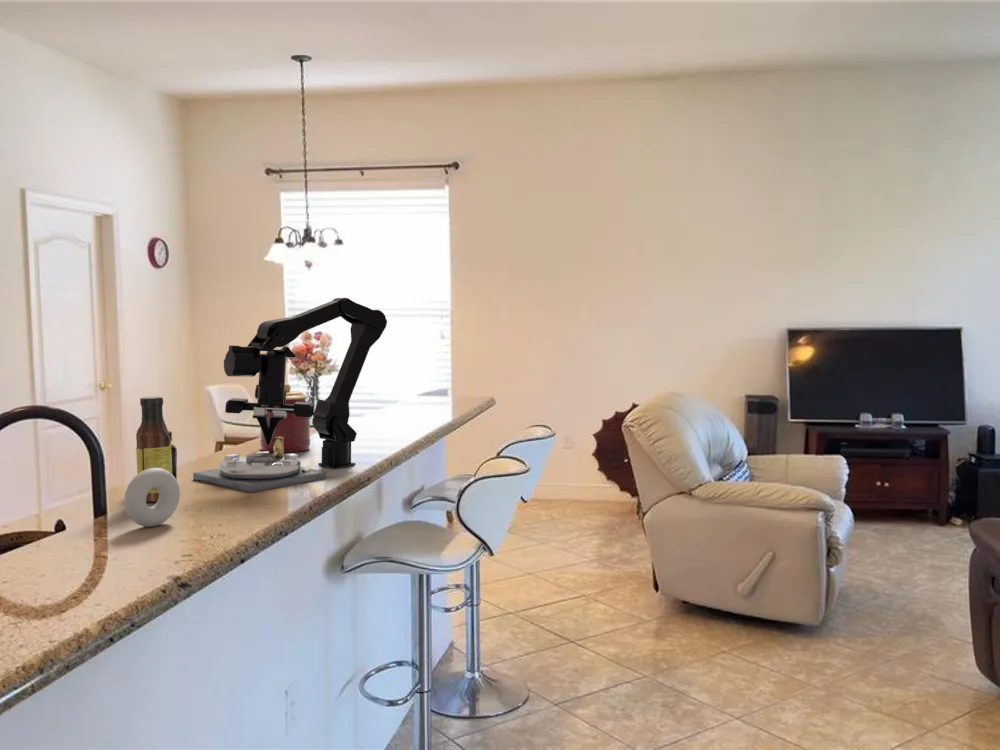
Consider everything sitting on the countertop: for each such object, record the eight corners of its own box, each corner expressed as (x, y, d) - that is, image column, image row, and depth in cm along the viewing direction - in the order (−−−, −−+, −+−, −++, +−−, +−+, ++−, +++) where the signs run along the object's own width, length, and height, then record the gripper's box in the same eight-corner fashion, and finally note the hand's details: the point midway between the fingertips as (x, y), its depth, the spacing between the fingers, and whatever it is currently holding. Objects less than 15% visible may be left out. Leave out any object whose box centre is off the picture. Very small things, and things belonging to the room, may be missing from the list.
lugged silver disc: (290, 462, 195) (290, 434, 195) (309, 475, 180) (309, 445, 180) (214, 467, 188) (213, 438, 187) (226, 481, 173) (226, 449, 172)
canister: (288, 444, 233) (288, 380, 232) (320, 449, 225) (320, 383, 224) (249, 449, 223) (249, 383, 221) (282, 455, 215) (282, 386, 214)
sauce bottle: (180, 498, 164) (179, 396, 163) (157, 504, 158) (156, 399, 157) (152, 495, 166) (151, 395, 165) (129, 501, 160) (128, 397, 159)
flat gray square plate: (269, 467, 198) (269, 458, 198) (326, 478, 186) (326, 469, 186) (193, 479, 182) (193, 469, 182) (250, 492, 170) (250, 482, 170)
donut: (132, 534, 137) (132, 473, 137) (119, 530, 139) (119, 471, 139) (184, 521, 146) (184, 464, 145) (171, 519, 148) (171, 462, 147)
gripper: (317, 376, 198) (313, 442, 199) (236, 371, 196) (232, 438, 197) (313, 380, 187) (309, 449, 188) (226, 375, 185) (223, 445, 186)
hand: (268, 445), depth 190 cm, fingers closed
